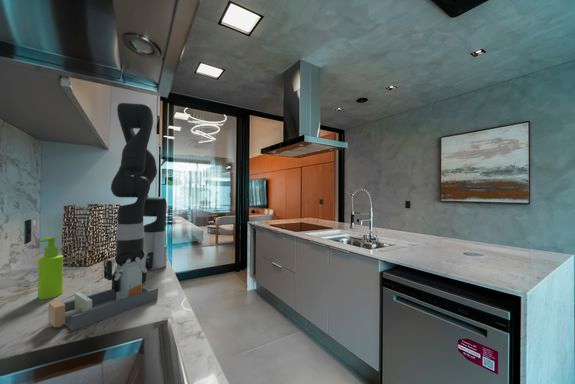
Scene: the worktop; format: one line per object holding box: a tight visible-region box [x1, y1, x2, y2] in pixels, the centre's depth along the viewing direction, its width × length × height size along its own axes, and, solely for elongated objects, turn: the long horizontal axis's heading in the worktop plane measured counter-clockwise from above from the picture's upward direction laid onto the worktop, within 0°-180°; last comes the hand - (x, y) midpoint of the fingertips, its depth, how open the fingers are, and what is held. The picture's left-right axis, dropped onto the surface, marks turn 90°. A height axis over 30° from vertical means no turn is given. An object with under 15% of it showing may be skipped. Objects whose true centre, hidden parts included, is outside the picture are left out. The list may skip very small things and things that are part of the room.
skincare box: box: [116, 260, 143, 301], centre depth 77 cm, size 6×4×12 cm
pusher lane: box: [63, 285, 159, 332], centre depth 73 cm, size 22×12×4 cm, turn 148°
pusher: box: [47, 291, 92, 328], centre depth 64 cm, size 7×10×5 cm
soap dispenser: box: [37, 236, 64, 300], centre depth 80 cm, size 6×7×20 cm
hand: (129, 287), depth 77 cm, fingers open, 7 cm apart
